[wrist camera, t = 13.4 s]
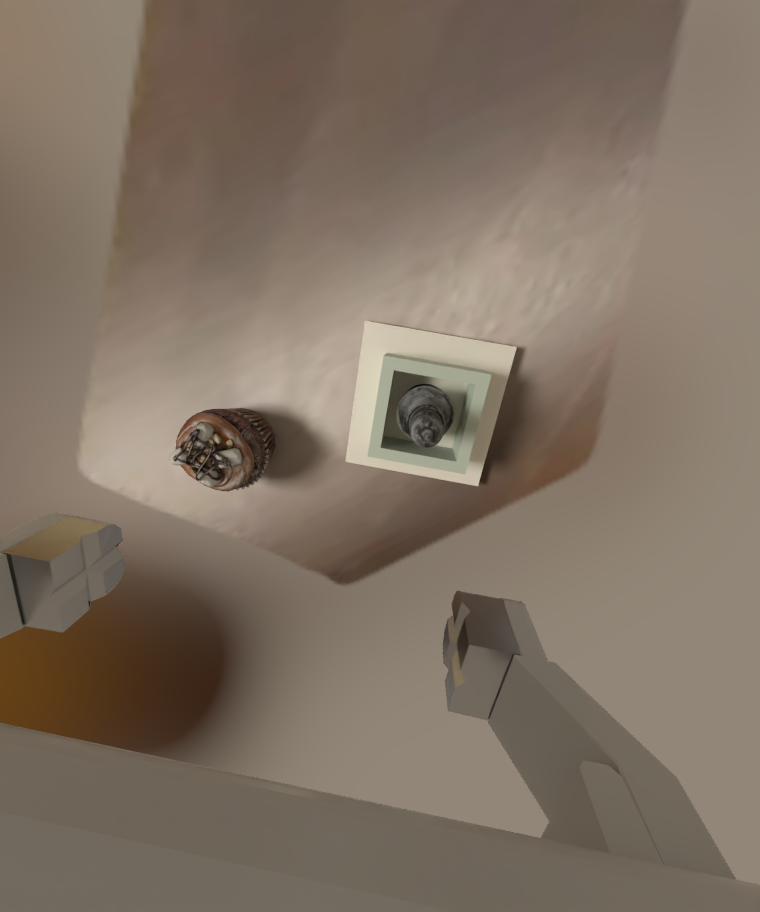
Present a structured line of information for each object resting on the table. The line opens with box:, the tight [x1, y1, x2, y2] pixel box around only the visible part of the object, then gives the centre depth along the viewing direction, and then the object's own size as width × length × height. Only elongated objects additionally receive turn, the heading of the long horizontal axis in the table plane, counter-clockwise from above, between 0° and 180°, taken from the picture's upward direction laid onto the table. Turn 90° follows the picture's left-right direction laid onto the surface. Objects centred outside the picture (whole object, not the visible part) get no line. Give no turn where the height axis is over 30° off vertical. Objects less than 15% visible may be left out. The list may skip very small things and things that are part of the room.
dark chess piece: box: [396, 384, 454, 448], centre depth 35 cm, size 6×6×12 cm
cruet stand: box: [345, 321, 517, 486], centre depth 39 cm, size 16×16×6 cm
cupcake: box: [169, 408, 275, 491], centre depth 40 cm, size 10×10×10 cm
